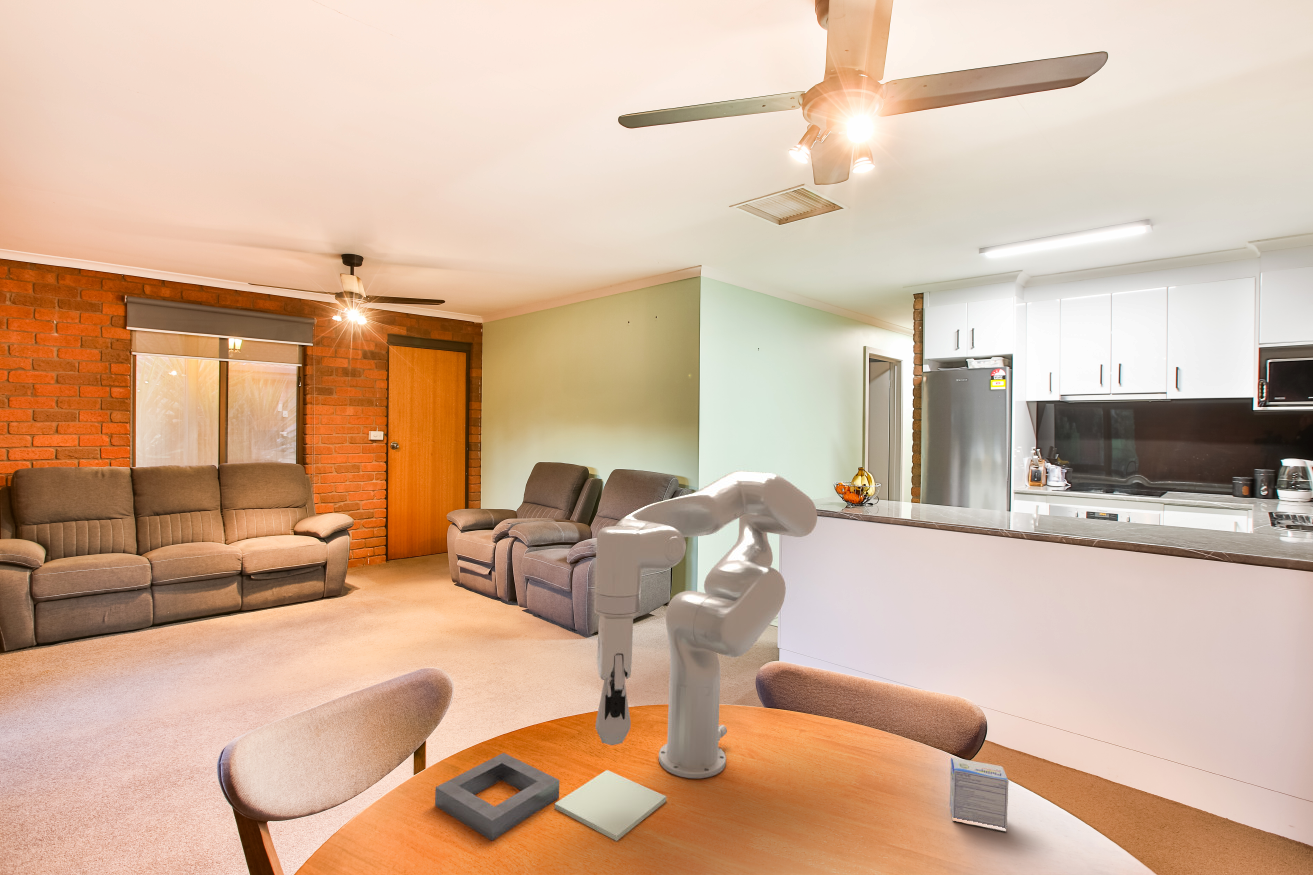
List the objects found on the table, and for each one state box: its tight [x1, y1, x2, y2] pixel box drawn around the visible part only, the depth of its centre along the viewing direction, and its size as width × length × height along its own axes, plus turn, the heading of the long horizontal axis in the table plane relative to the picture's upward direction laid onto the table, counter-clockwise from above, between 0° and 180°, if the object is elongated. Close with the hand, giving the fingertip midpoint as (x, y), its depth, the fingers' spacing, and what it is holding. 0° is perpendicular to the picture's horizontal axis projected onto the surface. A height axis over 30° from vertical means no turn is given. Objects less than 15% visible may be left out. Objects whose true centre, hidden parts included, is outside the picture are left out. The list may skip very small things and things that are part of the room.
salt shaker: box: [595, 673, 632, 746], centre depth 102 cm, size 6×6×13 cm
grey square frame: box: [434, 752, 560, 841], centre depth 102 cm, size 14×14×3 cm
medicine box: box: [949, 757, 1010, 830], centre depth 101 cm, size 8×4×9 cm, turn 71°
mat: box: [554, 769, 667, 842], centre depth 102 cm, size 13×13×1 cm
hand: (613, 713), depth 102 cm, fingers closed on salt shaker, 3 cm apart
